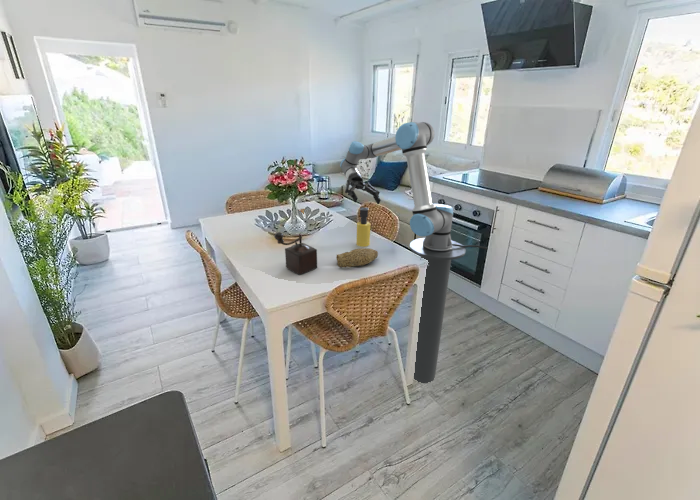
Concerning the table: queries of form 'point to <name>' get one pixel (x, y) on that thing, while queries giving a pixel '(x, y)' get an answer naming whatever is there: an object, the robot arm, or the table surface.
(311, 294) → the table surface
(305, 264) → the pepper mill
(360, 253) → the sponge
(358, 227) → the spray bottle
